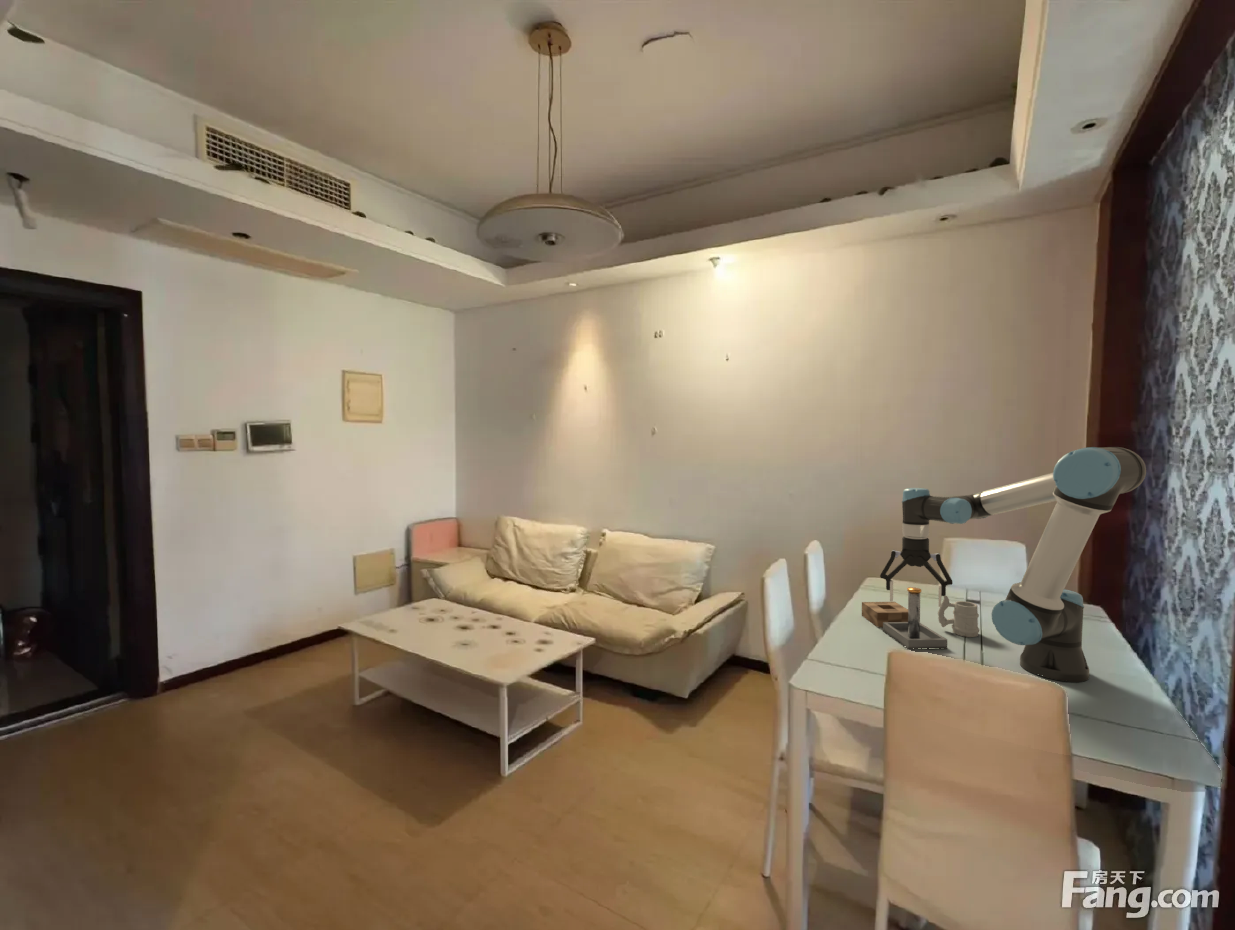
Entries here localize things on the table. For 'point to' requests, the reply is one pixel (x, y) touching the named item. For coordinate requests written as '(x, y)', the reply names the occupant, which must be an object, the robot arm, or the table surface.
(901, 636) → the tray
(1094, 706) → the table surface
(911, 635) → the pin
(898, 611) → the block
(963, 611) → the mug
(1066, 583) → the robot arm
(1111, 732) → the table surface
